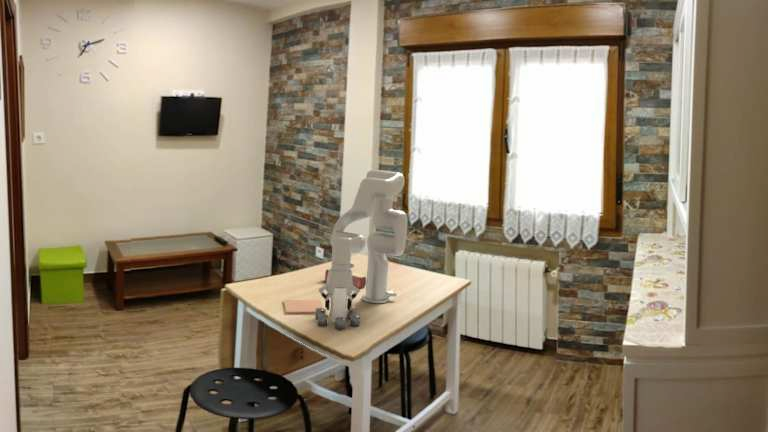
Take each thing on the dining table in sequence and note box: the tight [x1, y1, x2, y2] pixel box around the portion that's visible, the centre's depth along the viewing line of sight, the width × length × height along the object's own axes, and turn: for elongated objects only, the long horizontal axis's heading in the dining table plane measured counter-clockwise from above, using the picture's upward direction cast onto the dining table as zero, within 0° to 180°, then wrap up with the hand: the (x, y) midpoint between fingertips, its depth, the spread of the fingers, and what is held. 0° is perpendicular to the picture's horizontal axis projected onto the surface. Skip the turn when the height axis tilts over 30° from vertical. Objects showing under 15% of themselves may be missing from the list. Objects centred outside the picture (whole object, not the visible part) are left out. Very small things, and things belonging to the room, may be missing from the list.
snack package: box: [324, 267, 367, 290], centre depth 299 cm, size 21×7×7 cm, turn 62°
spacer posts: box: [314, 306, 361, 331], centre depth 243 cm, size 17×19×4 cm
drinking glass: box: [330, 288, 348, 324], centre depth 242 cm, size 7×7×15 cm
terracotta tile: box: [283, 299, 324, 315], centre depth 258 cm, size 16×16×1 cm
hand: (338, 308), depth 243 cm, fingers open, 7 cm apart
